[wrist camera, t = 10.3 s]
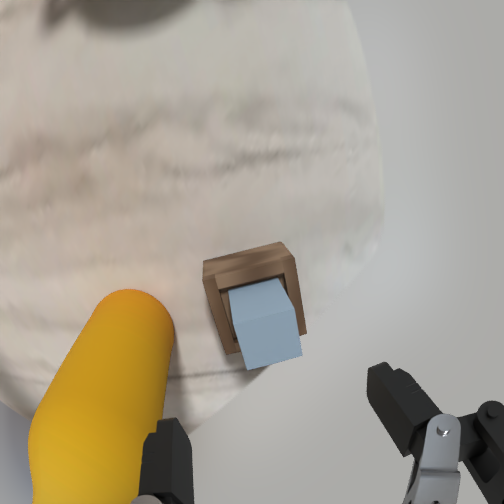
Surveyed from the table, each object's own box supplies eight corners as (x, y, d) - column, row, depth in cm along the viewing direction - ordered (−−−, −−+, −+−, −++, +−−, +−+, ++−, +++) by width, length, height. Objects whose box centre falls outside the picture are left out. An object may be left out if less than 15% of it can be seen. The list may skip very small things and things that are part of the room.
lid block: (239, 330, 28) (247, 370, 23) (228, 289, 27) (233, 324, 21) (285, 318, 29) (302, 355, 23) (277, 276, 27) (294, 308, 22)
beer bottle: (118, 363, 33) (62, 591, 5) (83, 297, 30) (-49, 531, 2) (187, 347, 33) (186, 616, 6) (156, 276, 30) (71, 594, 3)
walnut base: (223, 327, 33) (226, 354, 28) (203, 260, 30) (202, 280, 25) (293, 309, 33) (306, 333, 29) (281, 241, 31) (294, 257, 26)
